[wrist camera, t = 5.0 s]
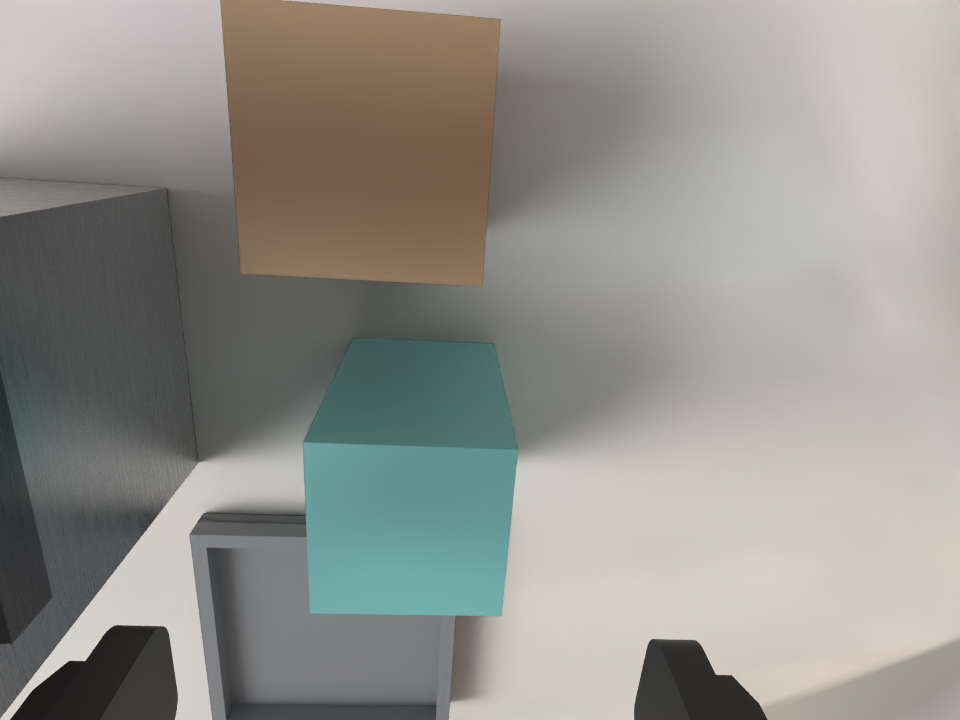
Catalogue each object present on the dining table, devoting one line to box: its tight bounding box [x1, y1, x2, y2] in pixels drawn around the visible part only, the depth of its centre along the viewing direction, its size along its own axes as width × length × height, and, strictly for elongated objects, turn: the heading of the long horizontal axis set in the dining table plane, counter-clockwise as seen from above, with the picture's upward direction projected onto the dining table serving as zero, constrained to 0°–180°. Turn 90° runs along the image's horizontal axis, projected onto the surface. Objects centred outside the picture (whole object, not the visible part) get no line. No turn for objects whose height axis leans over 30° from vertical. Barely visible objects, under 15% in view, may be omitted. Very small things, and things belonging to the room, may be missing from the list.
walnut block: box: [220, 0, 501, 286], centre depth 14 cm, size 4×4×7 cm
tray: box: [190, 513, 456, 720], centre depth 22 cm, size 9×9×1 cm
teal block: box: [303, 337, 518, 616], centre depth 16 cm, size 4×4×7 cm
